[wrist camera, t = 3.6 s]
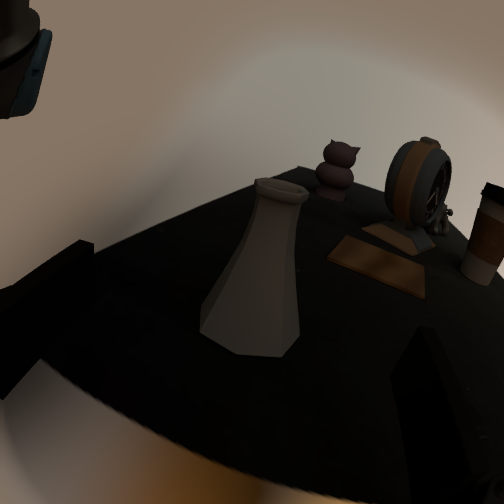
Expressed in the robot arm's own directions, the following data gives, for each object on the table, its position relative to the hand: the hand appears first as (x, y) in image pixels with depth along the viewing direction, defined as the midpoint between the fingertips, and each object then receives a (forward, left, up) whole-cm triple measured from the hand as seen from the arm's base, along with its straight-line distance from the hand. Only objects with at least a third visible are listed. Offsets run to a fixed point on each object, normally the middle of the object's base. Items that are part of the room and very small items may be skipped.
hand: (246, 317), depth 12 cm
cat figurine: (-11, +57, -7) cm, 58 cm away
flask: (-3, +8, -7) cm, 11 cm away
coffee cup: (+20, +41, -7) cm, 46 cm away
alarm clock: (+6, +45, -7) cm, 46 cm away
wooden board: (+4, +29, -7) cm, 30 cm away
